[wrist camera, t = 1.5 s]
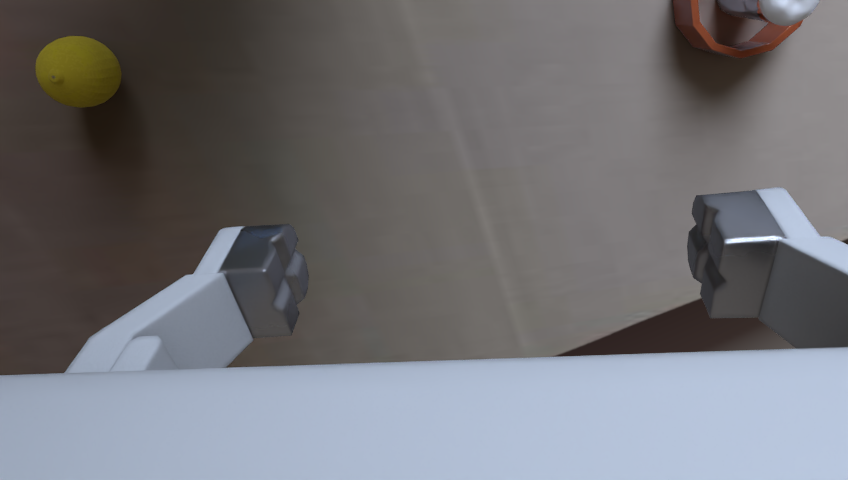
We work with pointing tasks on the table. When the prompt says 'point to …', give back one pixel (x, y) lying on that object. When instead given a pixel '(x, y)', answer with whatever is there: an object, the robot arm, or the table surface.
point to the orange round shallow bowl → (701, 39)
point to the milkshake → (770, 10)
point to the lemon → (78, 71)
